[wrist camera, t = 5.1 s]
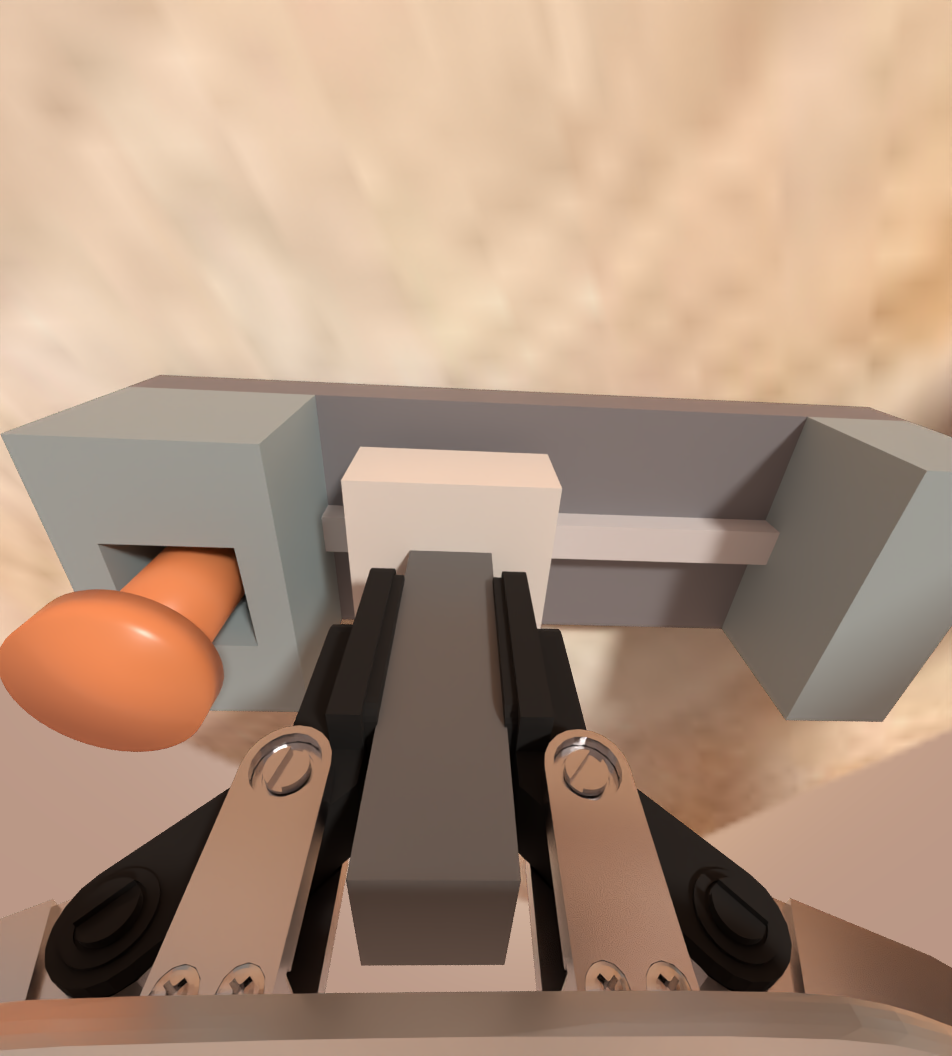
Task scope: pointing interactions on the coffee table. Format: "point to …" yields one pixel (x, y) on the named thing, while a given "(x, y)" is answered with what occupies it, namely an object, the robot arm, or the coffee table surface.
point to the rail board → (582, 526)
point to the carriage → (442, 697)
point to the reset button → (129, 653)
